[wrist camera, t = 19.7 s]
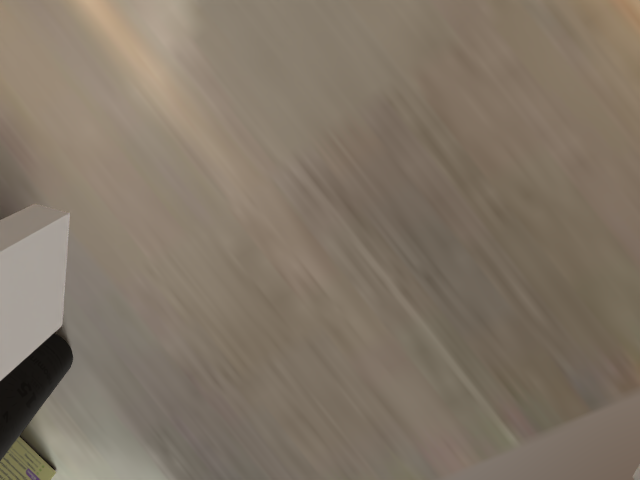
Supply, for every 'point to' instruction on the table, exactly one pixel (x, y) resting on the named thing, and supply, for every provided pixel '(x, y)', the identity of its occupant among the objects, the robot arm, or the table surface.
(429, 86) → the table surface
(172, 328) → the table surface
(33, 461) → the box
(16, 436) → the drinking cup
